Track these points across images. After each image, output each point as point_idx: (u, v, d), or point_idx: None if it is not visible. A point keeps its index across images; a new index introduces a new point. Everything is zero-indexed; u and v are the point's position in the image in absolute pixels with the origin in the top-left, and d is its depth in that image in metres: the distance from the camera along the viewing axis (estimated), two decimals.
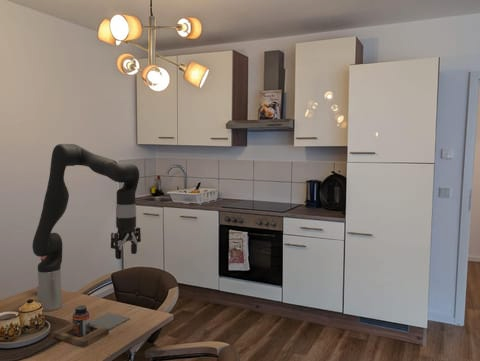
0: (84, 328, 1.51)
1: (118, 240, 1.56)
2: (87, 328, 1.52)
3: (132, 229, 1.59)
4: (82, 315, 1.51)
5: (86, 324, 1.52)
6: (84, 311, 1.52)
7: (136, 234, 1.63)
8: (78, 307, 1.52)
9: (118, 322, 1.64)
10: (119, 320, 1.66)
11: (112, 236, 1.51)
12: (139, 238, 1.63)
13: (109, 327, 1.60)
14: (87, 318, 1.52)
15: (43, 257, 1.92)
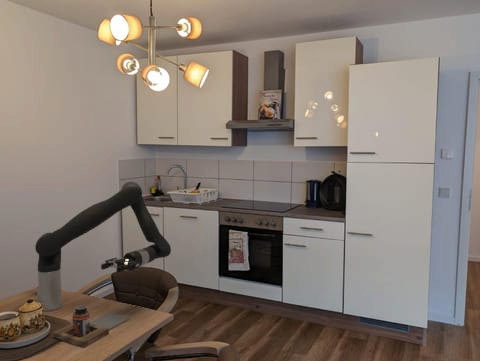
0: (84, 328, 1.51)
1: None
2: (87, 328, 1.52)
3: None
4: (82, 315, 1.51)
5: (86, 324, 1.52)
6: (84, 311, 1.52)
7: None
8: (78, 307, 1.52)
9: (118, 322, 1.64)
10: (119, 320, 1.66)
11: (137, 264, 1.70)
12: None
13: (109, 327, 1.60)
14: (87, 318, 1.52)
15: None
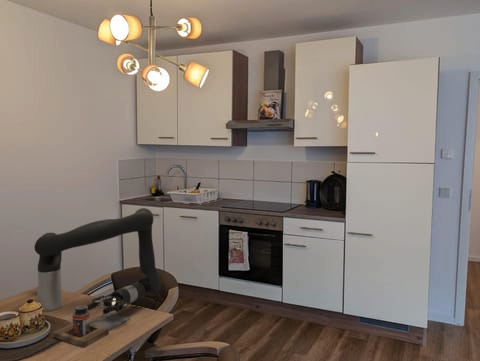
0: (84, 328, 1.51)
1: None
2: (87, 328, 1.52)
3: None
4: (82, 315, 1.51)
5: (86, 324, 1.52)
6: (84, 311, 1.52)
7: None
8: (78, 307, 1.52)
9: (118, 322, 1.64)
10: (119, 320, 1.66)
11: (125, 303, 1.65)
12: None
13: (109, 327, 1.60)
14: (87, 318, 1.52)
15: None
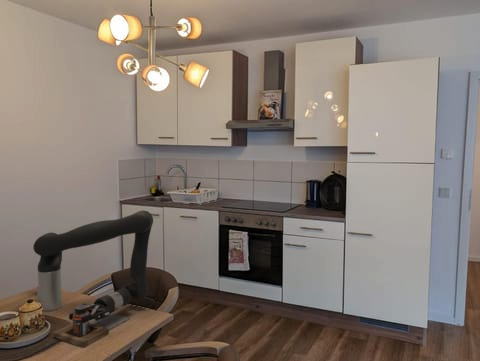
0: (84, 327, 1.51)
1: None
2: (87, 328, 1.52)
3: None
4: (82, 314, 1.51)
5: (86, 324, 1.52)
6: (84, 311, 1.52)
7: None
8: (78, 307, 1.52)
9: (118, 322, 1.64)
10: (119, 320, 1.66)
11: (106, 312, 1.56)
12: None
13: (109, 327, 1.60)
14: None
15: None
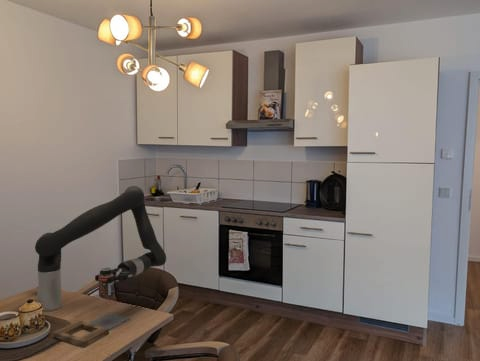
0: (109, 288, 1.62)
1: None
2: (112, 288, 1.63)
3: None
4: (107, 276, 1.62)
5: (111, 285, 1.62)
6: (109, 272, 1.63)
7: None
8: (103, 269, 1.63)
9: (118, 322, 1.64)
10: (119, 320, 1.66)
11: (130, 274, 1.66)
12: None
13: (109, 327, 1.60)
14: None
15: None
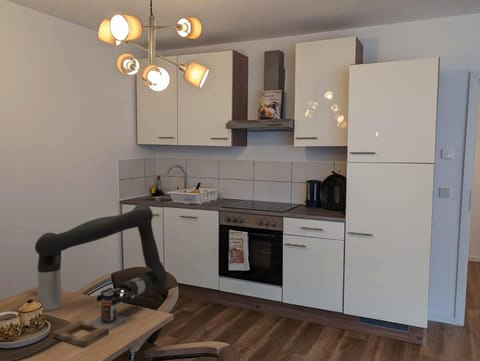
0: (111, 313, 1.64)
1: None
2: (114, 313, 1.65)
3: None
4: (110, 300, 1.63)
5: (113, 310, 1.64)
6: (111, 297, 1.64)
7: None
8: (106, 294, 1.65)
9: (118, 322, 1.64)
10: (119, 320, 1.66)
11: (133, 295, 1.69)
12: None
13: (109, 327, 1.60)
14: None
15: None
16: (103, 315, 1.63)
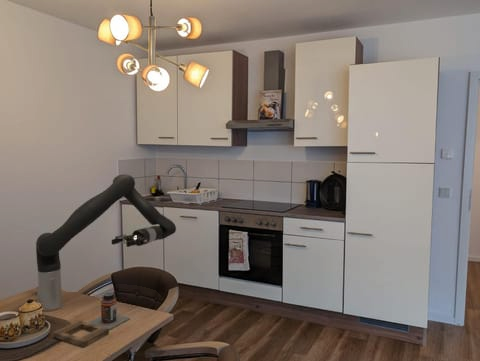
0: (111, 313, 1.64)
1: None
2: (114, 313, 1.65)
3: None
4: (110, 301, 1.63)
5: (113, 310, 1.64)
6: (112, 297, 1.64)
7: (121, 238, 1.85)
8: (106, 294, 1.65)
9: (118, 322, 1.64)
10: (119, 320, 1.66)
11: (145, 239, 1.80)
12: None
13: (109, 327, 1.60)
14: (114, 304, 1.65)
15: None
16: (103, 315, 1.63)
